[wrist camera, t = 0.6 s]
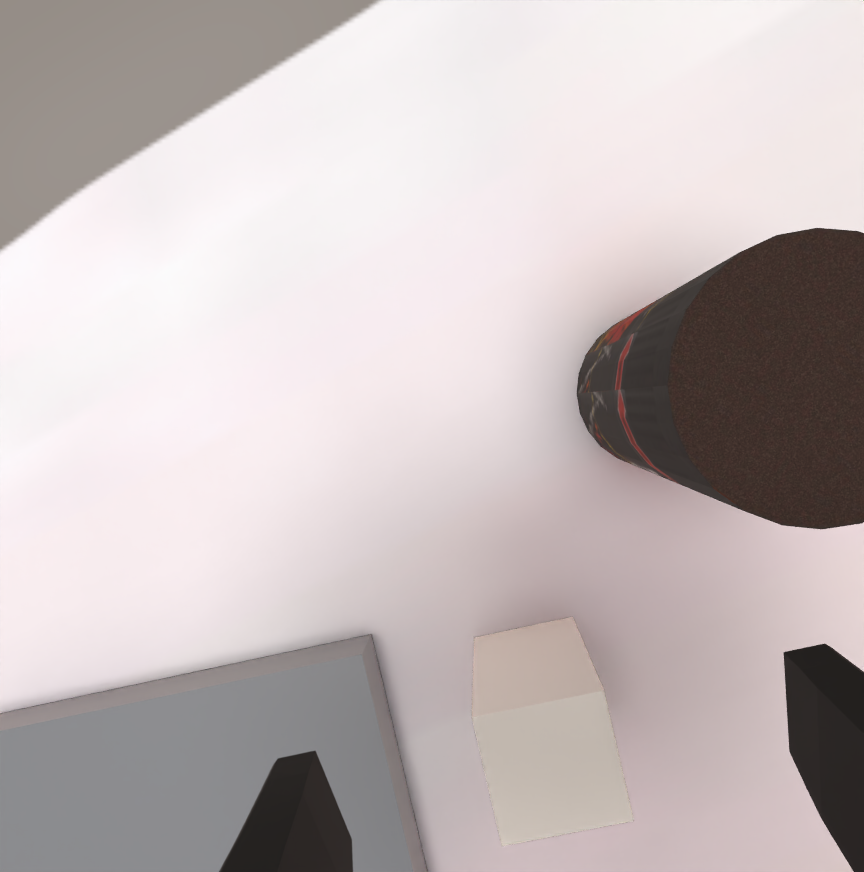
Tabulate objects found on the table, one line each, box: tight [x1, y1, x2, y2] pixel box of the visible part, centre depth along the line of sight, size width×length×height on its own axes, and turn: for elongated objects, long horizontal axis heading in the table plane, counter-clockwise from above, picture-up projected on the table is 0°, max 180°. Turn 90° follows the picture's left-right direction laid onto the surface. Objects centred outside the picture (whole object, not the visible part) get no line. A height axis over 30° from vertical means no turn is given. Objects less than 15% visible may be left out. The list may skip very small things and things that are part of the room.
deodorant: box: [577, 228, 864, 529], centre depth 23 cm, size 6×6×15 cm
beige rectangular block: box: [472, 617, 634, 846], centre depth 27 cm, size 4×4×8 cm
